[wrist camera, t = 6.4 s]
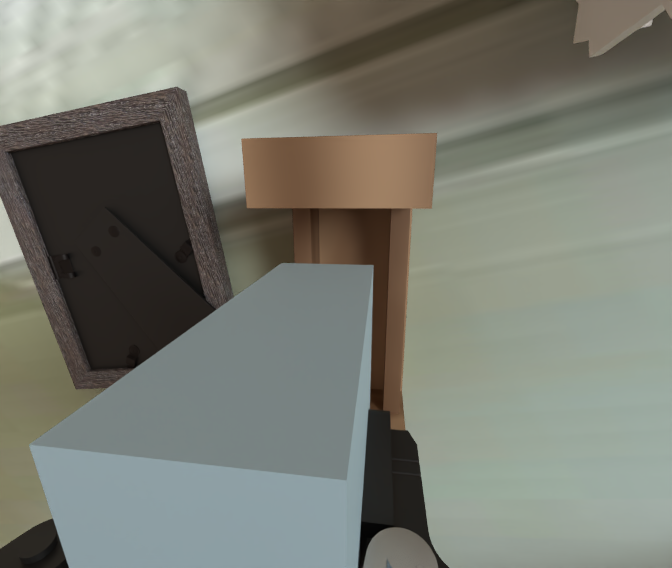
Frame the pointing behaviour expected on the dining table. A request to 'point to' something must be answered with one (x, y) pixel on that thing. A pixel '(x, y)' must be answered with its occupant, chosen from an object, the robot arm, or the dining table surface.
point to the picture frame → (115, 228)
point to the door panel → (228, 437)
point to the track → (353, 222)
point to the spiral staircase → (614, 21)
